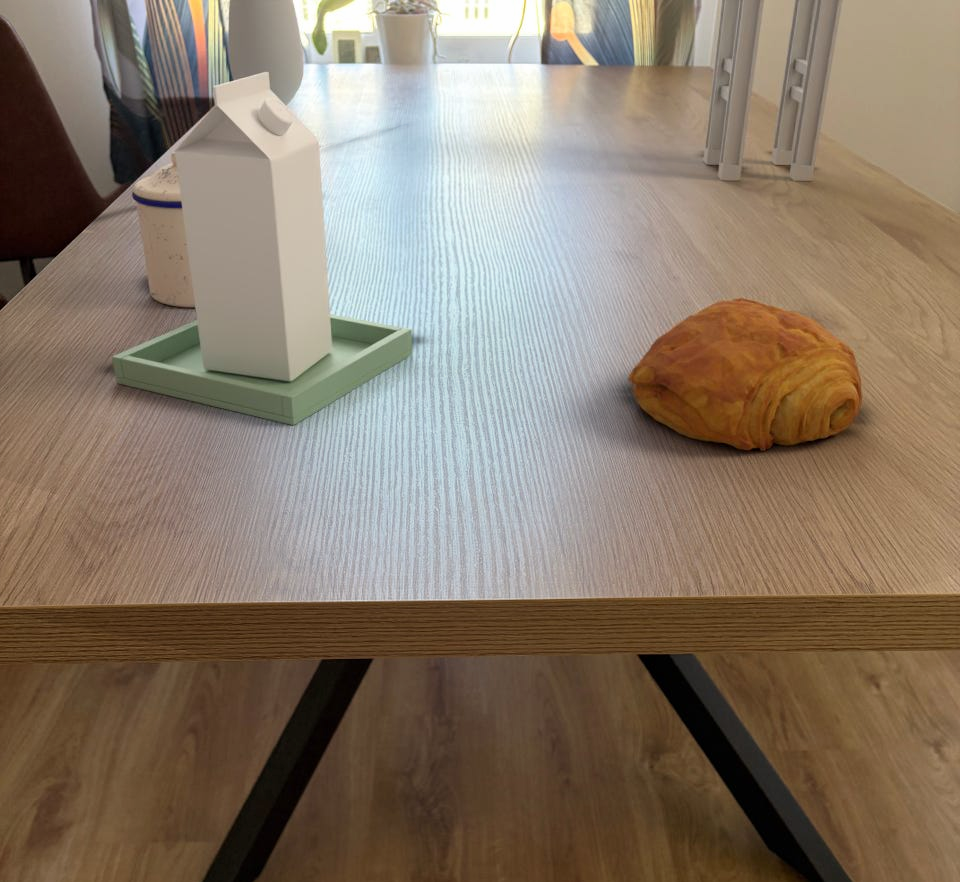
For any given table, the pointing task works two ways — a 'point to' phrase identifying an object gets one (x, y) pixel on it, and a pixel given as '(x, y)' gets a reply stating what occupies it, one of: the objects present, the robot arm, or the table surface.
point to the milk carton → (255, 234)
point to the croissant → (749, 377)
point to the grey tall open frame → (799, 89)
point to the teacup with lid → (164, 236)
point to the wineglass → (266, 44)
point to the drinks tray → (180, 374)
